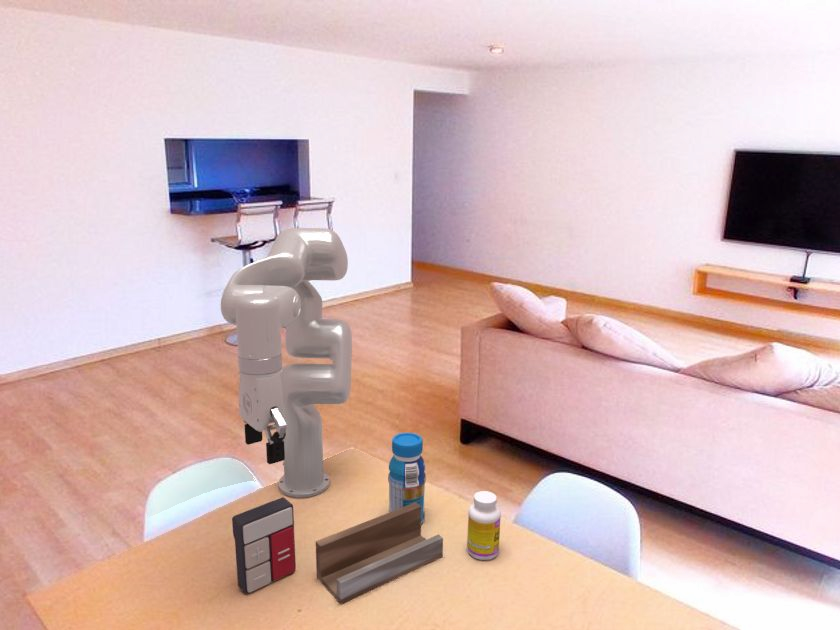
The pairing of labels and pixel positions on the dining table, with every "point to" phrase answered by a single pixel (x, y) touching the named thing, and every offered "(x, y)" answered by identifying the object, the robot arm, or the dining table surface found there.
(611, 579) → the dining table surface
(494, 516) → the supplement bottle
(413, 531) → the wooden channel stand
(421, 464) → the beverage bottle
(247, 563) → the calculator
